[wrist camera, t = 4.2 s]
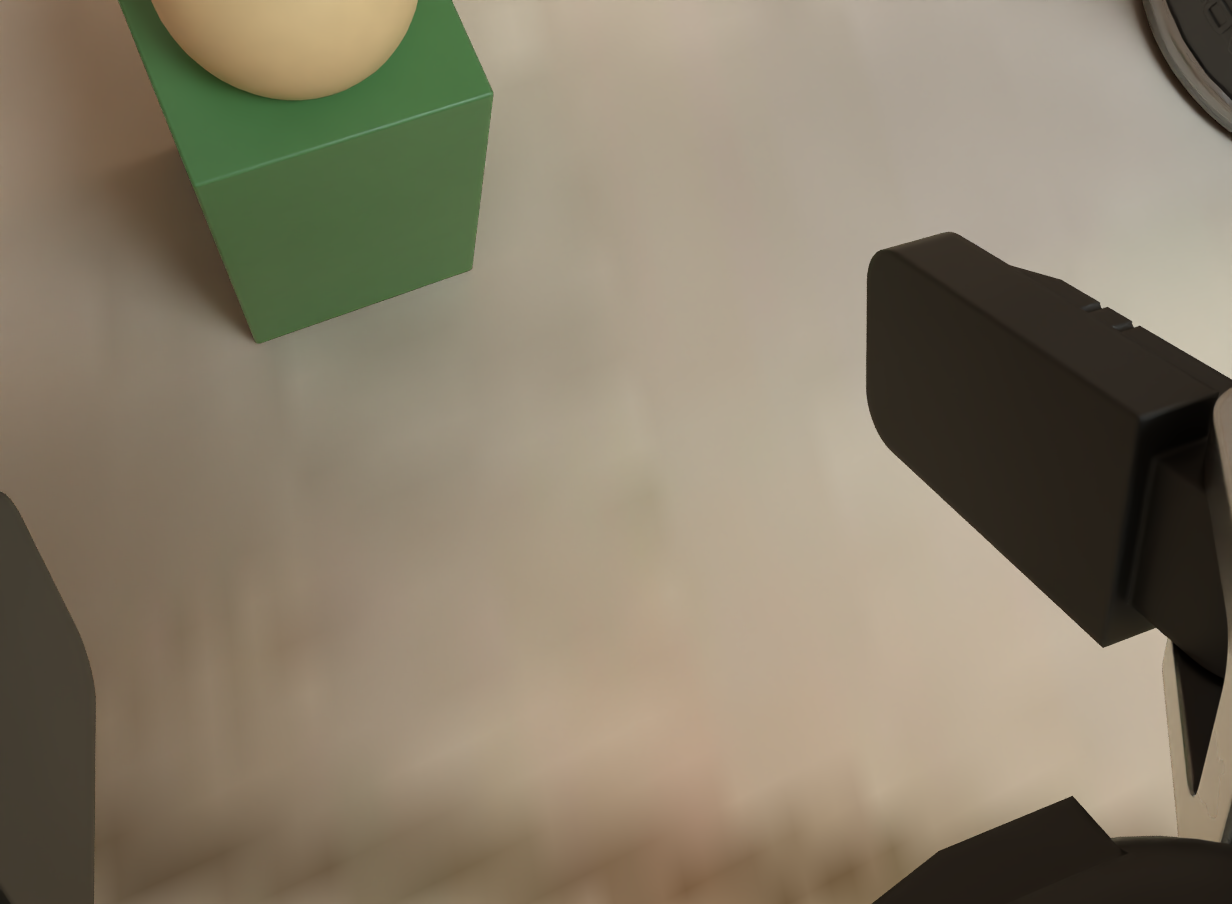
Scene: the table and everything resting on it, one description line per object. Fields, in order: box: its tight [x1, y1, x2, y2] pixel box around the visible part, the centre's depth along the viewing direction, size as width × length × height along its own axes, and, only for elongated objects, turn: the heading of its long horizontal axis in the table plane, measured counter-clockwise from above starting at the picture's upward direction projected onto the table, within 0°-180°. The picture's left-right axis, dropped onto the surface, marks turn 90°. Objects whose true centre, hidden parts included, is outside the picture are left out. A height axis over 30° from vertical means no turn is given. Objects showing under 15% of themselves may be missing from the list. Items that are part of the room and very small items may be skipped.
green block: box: [118, 0, 493, 344], centre depth 19 cm, size 5×5×10 cm
